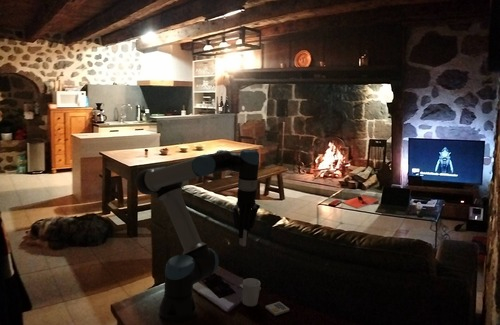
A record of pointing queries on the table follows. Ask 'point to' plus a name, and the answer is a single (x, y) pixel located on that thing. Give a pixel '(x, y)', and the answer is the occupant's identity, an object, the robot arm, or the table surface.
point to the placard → (277, 308)
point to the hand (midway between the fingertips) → (242, 244)
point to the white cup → (251, 291)
